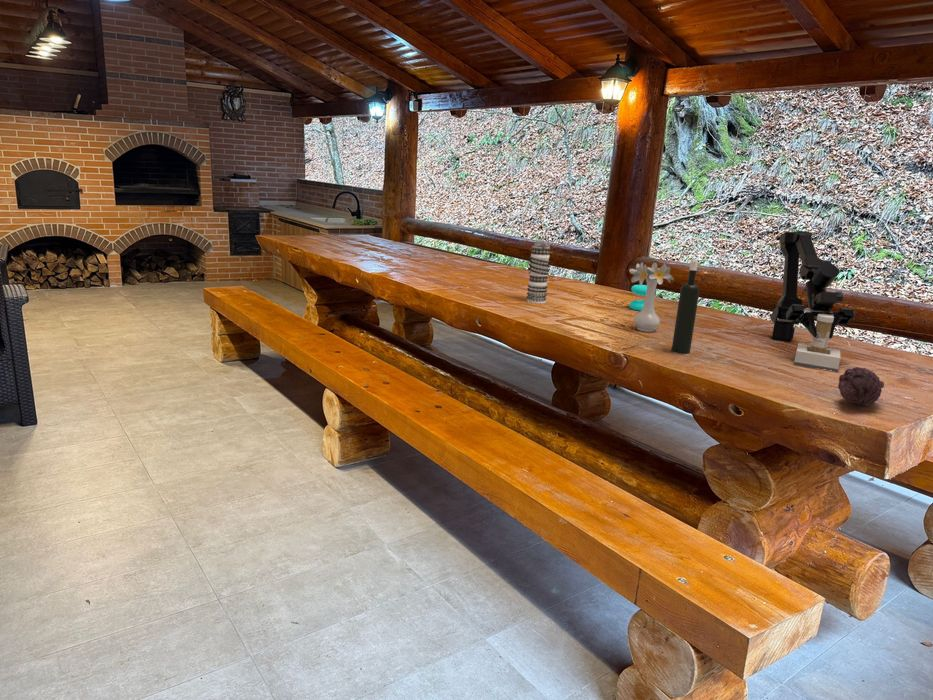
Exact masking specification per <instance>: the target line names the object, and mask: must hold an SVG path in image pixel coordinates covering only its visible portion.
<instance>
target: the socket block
mask: <svg viewBox="0 0 933 700" xmlns="http://www.w3.org/2000/svg"><path fill="white" fill-rule="evenodd" d="M811 346H812V344H806V343H805V344H804V343H798V344H797V349H796V352H795V357H794V361H793V362H794V363H793V366H797V365H798V367H803V366H804V367H805V368H809V367H811V368H810V369H815V368H819V369H818V370H821V369H826V370H825V371H827V370H832V371H831V372H833V371H837V372H839V371H838V370H839V366H840V362H841V350H840V349H836V348H831V347H829V348H828V347H827V349H826V353H825V354H824V353H817V352H811ZM804 367H803V368H804Z"/></svg>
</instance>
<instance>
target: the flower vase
mask: <svg viewBox="0 0 933 700" xmlns="http://www.w3.org/2000/svg"><path fill="white" fill-rule="evenodd" d="M628 272H629V273H630V274H631V275H633V276H632V277H631V281H630V282H631V283H636V282H639V285H643V283H644V281H646V285H647V292H646V296H645V299H644V300H645V303H644V306H643V308H642V310H641V311H638V313H637V314H636V315H635V316H634V318H633V323H634V325H635V326H636V327H637V328H636V329H637V330H638V331H641V332H645V333H652V332H654V331H655V329H657V328H658V327H659V326H660V323H661V320H660V318H659V316H658V314H657V313H656V311H655V293H656V291H655V290H657V285H663V282H664V279H665V280H667V281H668V283H670V284H671V281H675V278H674V277H673V276H672V275H671V274H670V273H671V266H667V265H666V263H665V262H664V263H663V265H661V266H660V268H659V267H658V264H657V262H653V263H652V265H651V267H649V266H647V264H644V262H640V263H636V265H635V268H629V270H628Z"/></svg>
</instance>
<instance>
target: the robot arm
mask: <svg viewBox="0 0 933 700" xmlns="http://www.w3.org/2000/svg"><path fill="white" fill-rule="evenodd" d="M812 238H813V235H812V232H810V231H805V230H804V231H803V230H796V231H784V232H783V233H781V234H780V236H779V238H778V239H779V240H778V242H779V247H780V251H781V253H782V255H783V256H784V264H783V265H784V266H783V278H782V279H783V280H782V281H783V282H782V292H781V293H782V295H781V297H780V298H779V300H778V301H777V302H776V306H775V308H774V309H773V311H772V312H771V314H770V321H771V322H772V323H773V324H774V325H773V329H772V334H771V337H770V339H771V340H775V341H776V340H777V341H784V342H791V341H792V340H794V335H795V330H796V327H795V326H794V325H799V324H800V325H803V327H804V328H805V329H806V330H807V331H808V332H809V334H810V335H811V336H812V338H813V337H816V336H817V334H816V324H815V318H817V316H818V314H828V315H832V316H834V320H833V322H832V326H831V331H830V336H829V340H831V339H832V338H833V336H834V332H835V328H836V326H838V325H842V326H845V325H848V324H849V323H850V322H852V320H853V319H854V318H855V317H856V312H855V310H854V309H853V308H848V307H847V308H844V307H840V308H839V309H838V310H837V311H831V310H833V308H834V305H837V304H839V303H842V302H843V301H844V294H843V291H834V292H832V291H827V288H829V287H830V286H831V285H832V284H833V282H834V281H835V280H836V278H837V277H838V276H839V274H840V269H839V268H838V267H837V266H836V265H835V264H833V263H832V262H831V260H824V259H822V258H820V257H818V255H817V251H816V248H815V245H814V243H813V241H812V240H813V239H812ZM800 262H801V265H800ZM799 277H800V278H801V280H803V281H807V282H806V283H805V287H804V289H803V292H805V293H806V299H807V301H806V302H805V304H806V305H805V304H803V300H802V299H801V298H799V296H798V283H799ZM806 306H808V307H806Z"/></svg>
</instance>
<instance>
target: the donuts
mask: <svg viewBox="0 0 933 700" xmlns="http://www.w3.org/2000/svg"><path fill="white" fill-rule="evenodd" d="M656 291H657V289H655V292H656ZM631 292H632V293H633V294H635V295H637V296H641V297H642V296H645V297H646V292H647V284H642V285H640V284H634V285H632V286H631ZM644 303H645V299H644V300H643V299H634V300H631V302H630V303H629V304H628V305H629V308H630V309H631V310H633V311H638V312H640V311H641V310H642V308H643V306H644Z"/></svg>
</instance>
